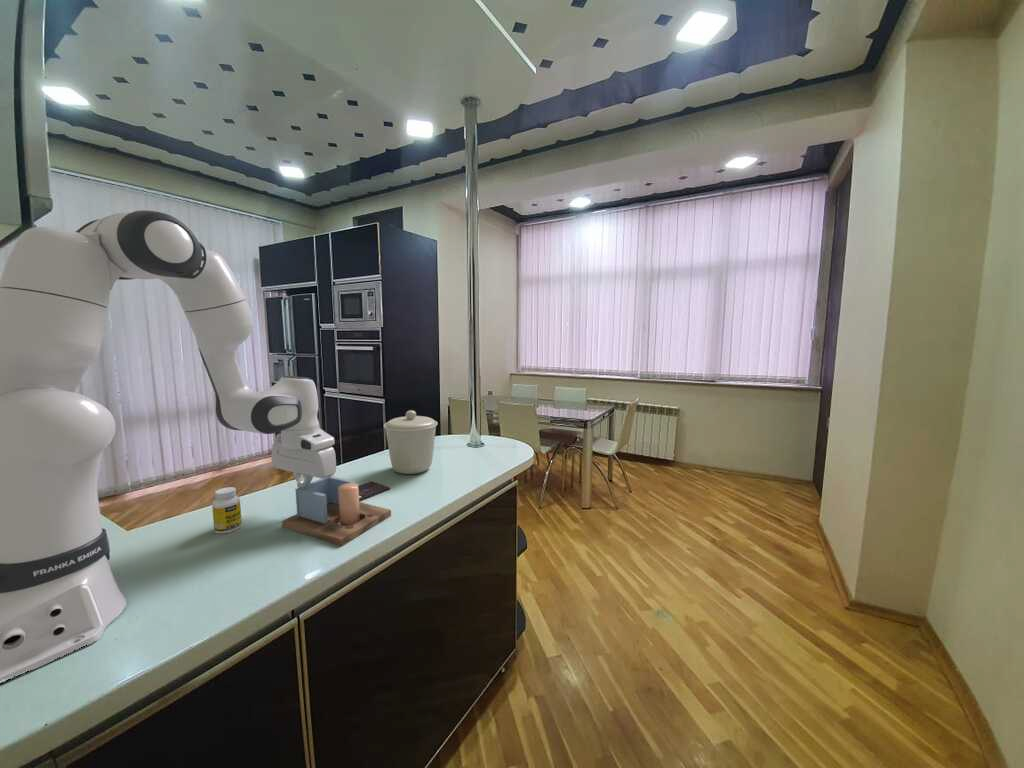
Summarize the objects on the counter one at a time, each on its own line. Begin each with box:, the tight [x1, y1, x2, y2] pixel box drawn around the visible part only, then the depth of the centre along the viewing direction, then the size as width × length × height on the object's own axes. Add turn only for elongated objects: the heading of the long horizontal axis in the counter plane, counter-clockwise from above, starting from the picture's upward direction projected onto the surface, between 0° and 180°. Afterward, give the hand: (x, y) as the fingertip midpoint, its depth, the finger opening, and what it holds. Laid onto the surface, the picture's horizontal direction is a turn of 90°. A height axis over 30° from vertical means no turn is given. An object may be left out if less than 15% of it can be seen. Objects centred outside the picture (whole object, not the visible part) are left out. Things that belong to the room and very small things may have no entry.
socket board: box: [281, 501, 392, 547], centre depth 97 cm, size 16×20×2 cm
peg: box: [338, 482, 361, 526], centre depth 95 cm, size 5×5×10 cm
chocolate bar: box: [358, 480, 391, 502], centre depth 113 cm, size 9×1×18 cm
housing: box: [295, 475, 356, 524], centre depth 98 cm, size 10×10×7 cm
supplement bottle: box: [211, 486, 243, 534], centre depth 93 cm, size 5×5×10 cm
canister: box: [383, 409, 438, 475], centre depth 133 cm, size 18×18×21 cm
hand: (304, 488), depth 101 cm, fingers closed
